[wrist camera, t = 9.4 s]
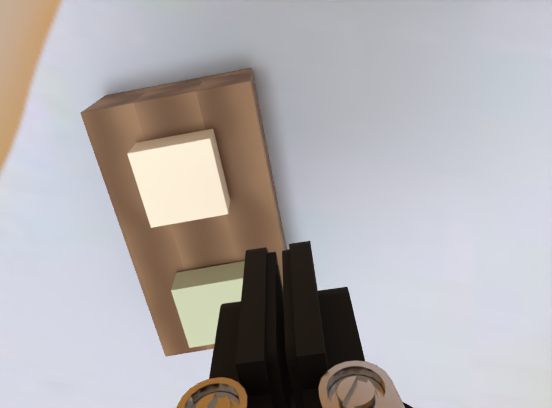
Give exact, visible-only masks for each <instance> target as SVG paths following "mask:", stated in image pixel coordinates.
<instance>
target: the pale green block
mask: <svg viewBox="0 0 552 408" xmlns="http://www.w3.org/2000/svg"><path fill="white" fill-rule="evenodd" d="M244 263H245V261H241V262H236V263H230V264H224V265H218V266H212V267H206V268H201V269H195V270H189V271H183V272H177V273H176V275H175V278H174V282H173V285H172V289H171V292H172V295H173V298H174V301H175V305H176V308H177V311H178V314H179V317H180V320H181V323H182V326H183V329H184V333H185V336H186V339H187V342H188V345H189V348H192V347H198V346H204V345H210V344H215V338H216V331H217V325H218V318H219V312H220V307H221V305H222V304H224V303H231V302H239V301H241V295H242V285H243V274H244Z"/></svg>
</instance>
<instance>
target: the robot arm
mask: <svg viewBox="0 0 552 408" xmlns="http://www.w3.org/2000/svg"><path fill="white" fill-rule="evenodd" d="M289 247H290V250H283V251H282V268H283V286H282V281H281V275H280V270H279V265H278V259H277V254H276V252H269V253H268V249H267V247H264V248H257V249H250V250H246V253H245V263H244V274H243V285H242V295H241V301H239V302H231V303H224V304H222V305H221V307H220V312H219V318H218V325H217V331H216V338H215V344H214V351H213V357H212V364H211V371H210V377H209V379H208V380H205V381H202V382H200V383H198V384H196V385H195V386H193V387H192V388H190V389H189V390H188V391H187V392H186V393H185V394H184V395H183V396H182V398H181V400H180V402H179V403H178V405H177V408H413V407H411V406H409V405H407V404H405V403H404V402H402V400H401V398H400V396H399V394H398V392H397V390H396V388H395V386H394V384H393V382H392V380H391V378H390V377H389V376H388V374H387V373H386V372H385V371H384V370H383V369H381V368H380V367H378V366H377V365H374V364H372V363H369V362H365V359H364V355H363V351H362V346H361V342H360V338H359V333H358V329H357V325H356V321H355V316H354V312H353V308H352V304H351V299H350V295H349V291H348V288H347V287H343V288H335V289H328V290H320V291H317V284H316V277H315V271H314V264H313V257H312V251H311V244H310V241H307V242H300V243H293V244H289Z"/></svg>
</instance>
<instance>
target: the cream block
mask: <svg viewBox="0 0 552 408" xmlns="http://www.w3.org/2000/svg"><path fill="white" fill-rule="evenodd" d="M127 155H128V158H129V161H130V164H131V167H132V170H133V173H134V176H135V180H136V183H137V186H138V189H139V192H140V195H141V198H142V201H143V205H144V208H145V211H146V214H147V217H148V220H149V223H150V226H151V228H153V227H158V226H164V225H170V224H175V223H181V222H187V221H192V220H198V219H204V218H209V217H215V216H221V215H226V214H228V213H229V205H230V197H229V193H228V189H227V184H226V180H225V176H224V172H223V168H222V163H221V159H220V155H219V151H218V147H217V142H216V138H215V134H214V130H213V129H208V130H202V131H197V132H191V133H186V134H180V135H175V136H170V137H164V138H159V139H153V140H148V141H142V142H137V143H135V145H134V146H133V147H132V148H131V150H130V151H129V152H128V153H127Z"/></svg>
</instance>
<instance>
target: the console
mask: <svg viewBox="0 0 552 408" xmlns="http://www.w3.org/2000/svg"><path fill="white" fill-rule="evenodd" d="M81 116H82V119H83V122H84V124H85V127H86V130H87V133H88V136H89V139H90V142H91V145H92V147H93V150H94V153H95V156H96V159H97V162H98V165H99V167H100V170H101V173H102V176H103V179H104V182H105V185H106V187H107V190H108V193H109V196H110V199H111V202H112V205H113V207H114V210H115V213H116V216H117V219H118V222H119V225H120V227H121V230H122V233H123V236H124V239H125V242H126V245H127V247H128V250H129V253H130V256H131V259H132V262H133V265H134V267H135V270H136V273H137V276H138V279H139V282H140V285H141V287H142V290H143V293H144V296H145V299H146V302H147V305H148V308H149V310H150V313H151V316H152V319H153V322H154V325H155V328H156V330H157V333H158V336H159V339H160V342H161V345H162V348H163V350H164V353H165V356H171V355H177V354H183V353H189V352H195V351H201V350H207V349H214V344H210V345H204V346H198V347H192V348H189V345H188V342H187V339H186V336H185V333H184V329H183V326H182V323H181V320H180V317H179V314H178V311H177V308H176V305H175V301H174V298H173V295H172V292H171V289H172V285H173V282H174V278H175V275H176V273H177V272H183V271H189V270H195V269H201V268H206V267H212V266H218V265H224V264H230V263H236V262H241V261H245V253H246V250H250V249H257V248H264V247H267V249H268V253H269V252H276V254H277V259H278V265H279V270H280V275H281V281H282V286H283V268H282V251H283V250H287V249H286V244H285V239H284V234H283V229H282V224H281V218H280V213H279V208H278V203H277V198H276V193H275V187H274V182H273V177H272V172H271V167H270V162H269V156H268V151H267V146H266V141H265V136H264V131H263V125H262V120H261V115H260V110H259V105H258V100H257V94H256V89H255V84H254V79H253V74H252V69H251V68H249V69H244V70H239V71H233V72H228V73H223V74H217V75H212V76H207V77H202V78H196V79H191V80H186V81H180V82H175V83H170V84H164V85H159V86H154V87H148V88H143V89H138V90H133V91H127V92H122V93H117V94H111V95H106V96H104V97H103V98H101V99H100V100H98V101H97V102H96V103H94V104H93V105H91V106H90V107H88V108H87V109H86V110H84V111H83V112H81ZM208 129H213V130H214V134H215V138H216V142H217V147H218V151H219V155H220V159H221V163H222V168H223V172H224V176H225V180H226V184H227V189H228V193H229V197H230V205H229V213H228V214H226V215H221V216H215V217H209V218H204V219H198V220H192V221H187V222H181V223H175V224H170V225H164V226H158V227H153V228H151V226H150V223H149V220H148V217H147V214H146V211H145V208H144V205H143V201H142V198H141V195H140V192H139V189H138V186H137V183H136V180H135V176H134V173H133V170H132V167H131V164H130V161H129V158H128V155H127V153H128V152H129V151H130V150H131V148H132V147H133V146H134V145H135V143H137V142H142V141H148V140H153V139H159V138H164V137H170V136H175V135H180V134H186V133H191V132H197V131H202V130H208Z"/></svg>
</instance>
